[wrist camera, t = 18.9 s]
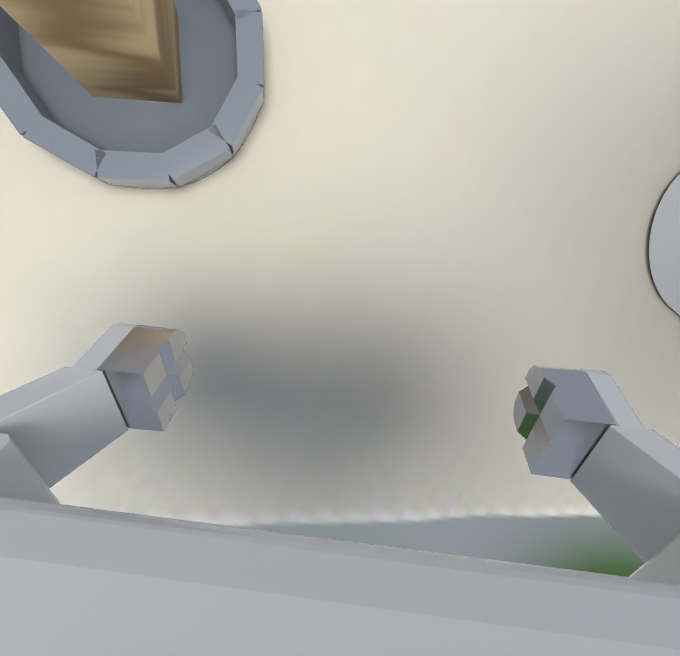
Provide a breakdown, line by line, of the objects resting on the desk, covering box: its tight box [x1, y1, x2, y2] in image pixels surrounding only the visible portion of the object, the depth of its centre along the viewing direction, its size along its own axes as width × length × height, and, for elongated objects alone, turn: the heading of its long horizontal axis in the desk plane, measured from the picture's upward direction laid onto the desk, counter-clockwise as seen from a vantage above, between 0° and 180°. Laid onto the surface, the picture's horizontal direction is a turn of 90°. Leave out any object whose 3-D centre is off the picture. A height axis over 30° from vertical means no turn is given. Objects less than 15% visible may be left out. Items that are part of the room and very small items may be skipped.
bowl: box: [0, 0, 264, 189], centre depth 23 cm, size 15×15×3 cm
